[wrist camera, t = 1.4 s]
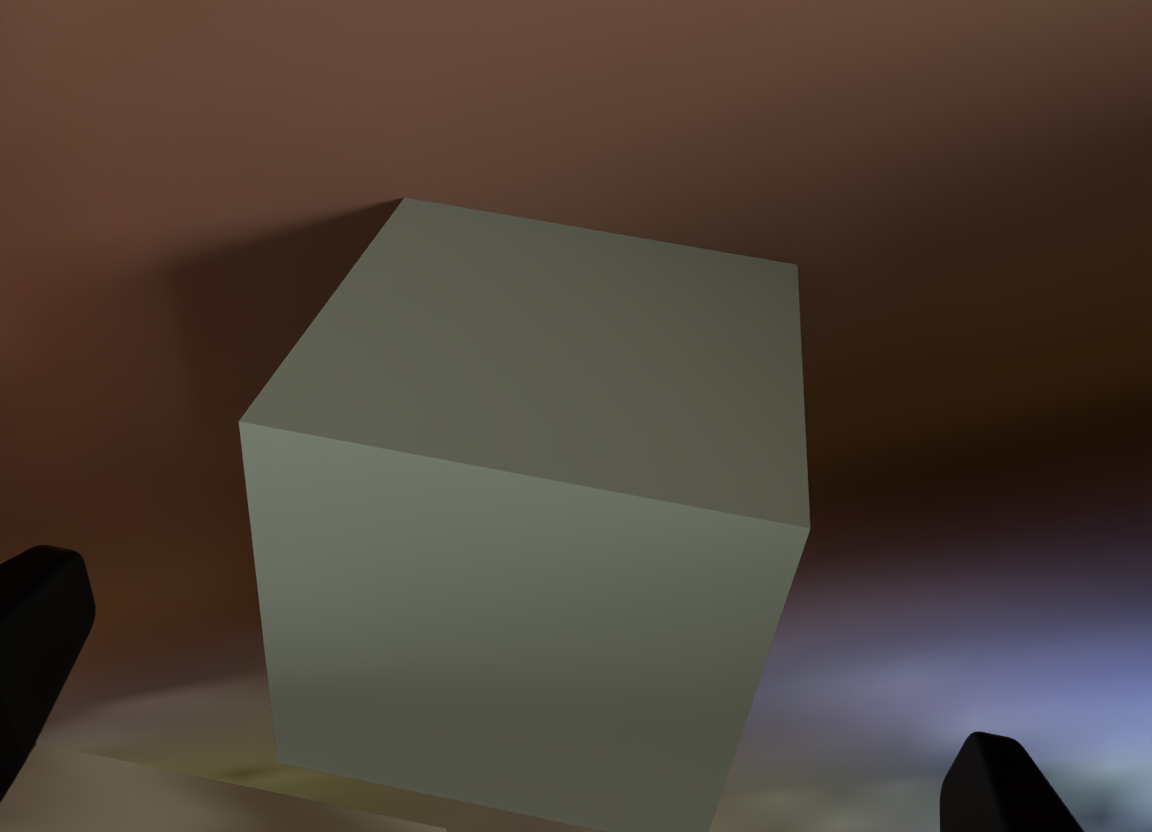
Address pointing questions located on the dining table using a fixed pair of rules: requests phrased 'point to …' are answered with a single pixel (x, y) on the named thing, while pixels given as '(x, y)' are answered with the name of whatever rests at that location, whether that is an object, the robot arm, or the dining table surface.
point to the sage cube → (530, 516)
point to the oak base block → (162, 801)
